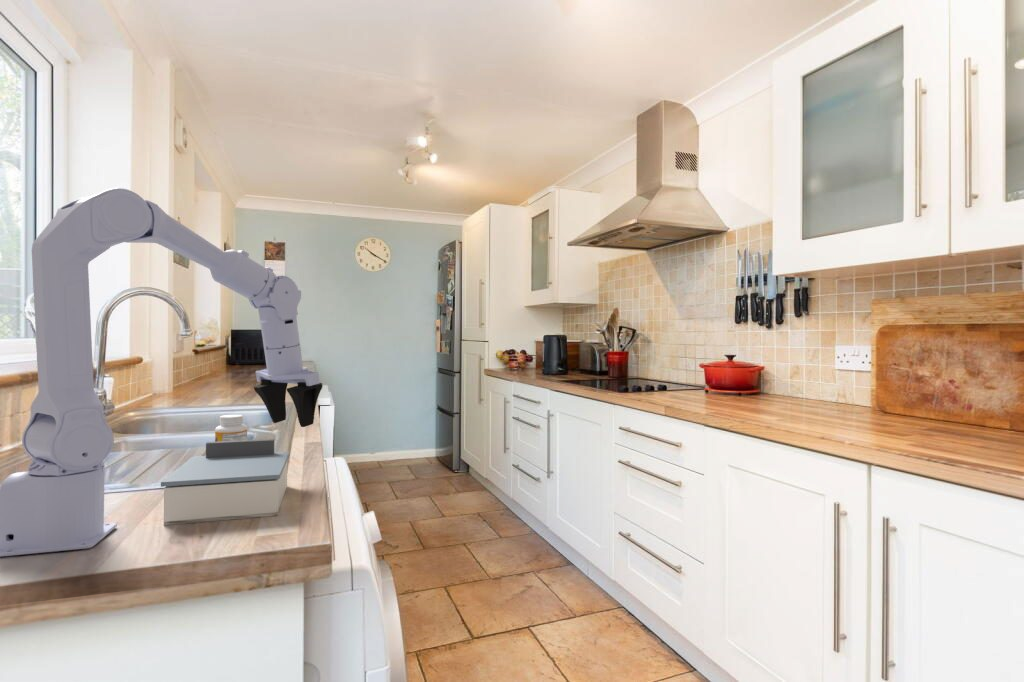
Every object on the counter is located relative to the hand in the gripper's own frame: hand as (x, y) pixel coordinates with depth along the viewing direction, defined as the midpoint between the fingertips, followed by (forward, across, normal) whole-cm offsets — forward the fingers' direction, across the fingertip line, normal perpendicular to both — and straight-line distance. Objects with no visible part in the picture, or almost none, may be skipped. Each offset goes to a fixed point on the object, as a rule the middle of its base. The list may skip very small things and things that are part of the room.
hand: (293, 423), depth 92 cm
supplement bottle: (+11, +20, +1) cm, 23 cm away
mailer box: (+8, -2, +14) cm, 16 cm away
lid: (+3, -2, +13) cm, 13 cm away
